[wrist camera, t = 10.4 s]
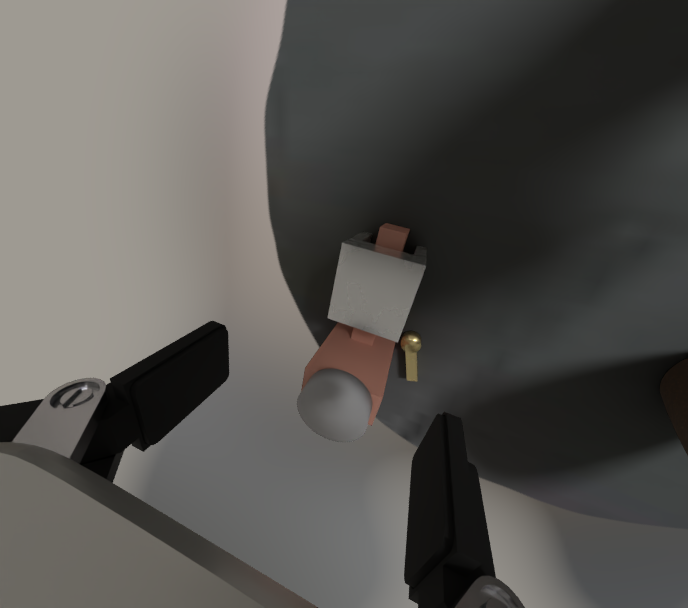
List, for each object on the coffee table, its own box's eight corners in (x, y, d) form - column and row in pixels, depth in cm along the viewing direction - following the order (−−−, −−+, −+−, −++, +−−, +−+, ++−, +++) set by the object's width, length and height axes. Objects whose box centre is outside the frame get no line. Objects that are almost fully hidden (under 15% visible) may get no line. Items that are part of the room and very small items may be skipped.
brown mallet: (364, 217, 24) (316, 232, 14) (433, 235, 23) (438, 266, 13) (334, 348, 32) (288, 421, 22) (385, 367, 31) (363, 455, 20)
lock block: (363, 231, 25) (342, 242, 19) (426, 248, 24) (426, 266, 18) (349, 291, 28) (327, 318, 22) (404, 309, 27) (397, 342, 21)
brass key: (401, 330, 28) (400, 335, 27) (421, 331, 27) (420, 336, 26) (403, 373, 30) (402, 379, 29) (421, 375, 30) (421, 381, 29)
